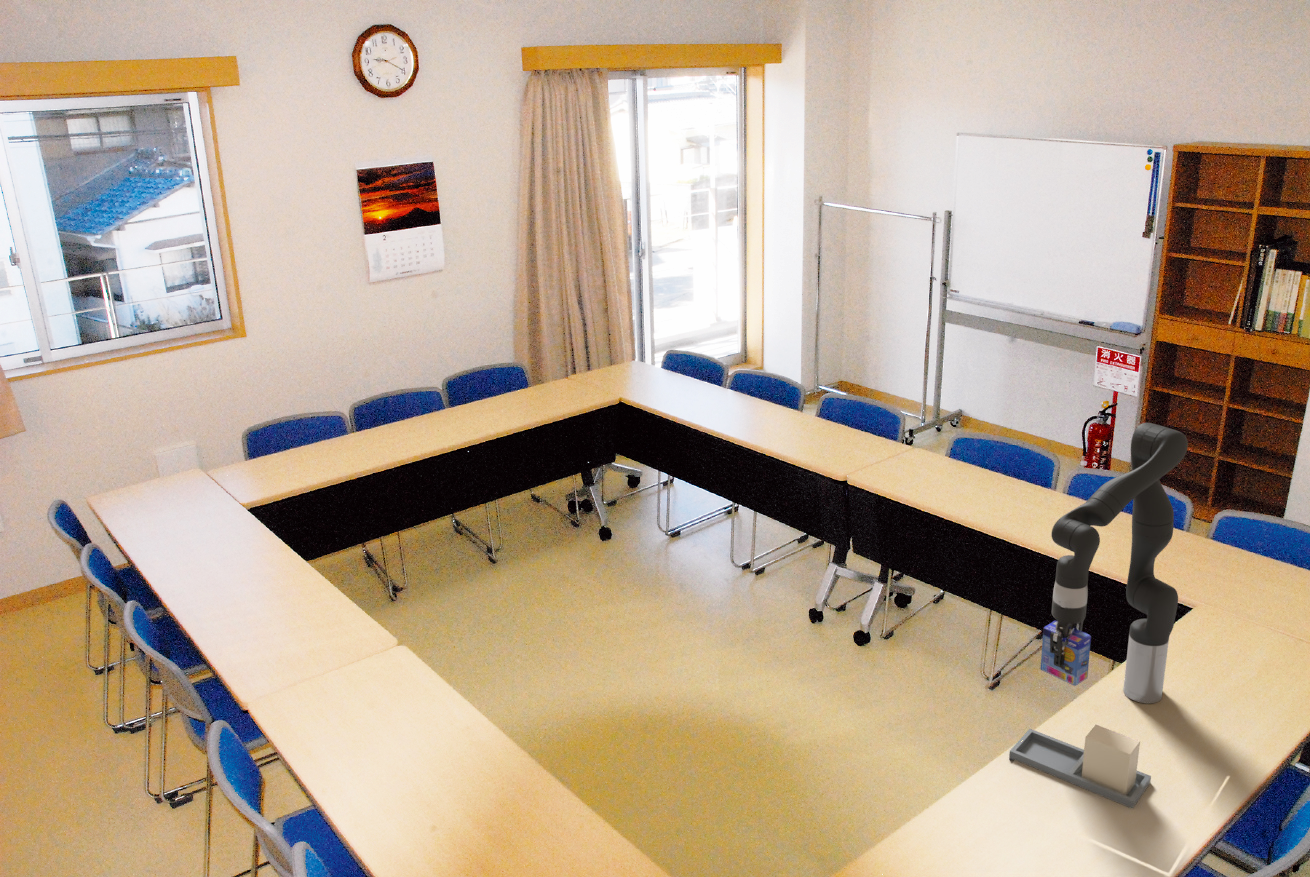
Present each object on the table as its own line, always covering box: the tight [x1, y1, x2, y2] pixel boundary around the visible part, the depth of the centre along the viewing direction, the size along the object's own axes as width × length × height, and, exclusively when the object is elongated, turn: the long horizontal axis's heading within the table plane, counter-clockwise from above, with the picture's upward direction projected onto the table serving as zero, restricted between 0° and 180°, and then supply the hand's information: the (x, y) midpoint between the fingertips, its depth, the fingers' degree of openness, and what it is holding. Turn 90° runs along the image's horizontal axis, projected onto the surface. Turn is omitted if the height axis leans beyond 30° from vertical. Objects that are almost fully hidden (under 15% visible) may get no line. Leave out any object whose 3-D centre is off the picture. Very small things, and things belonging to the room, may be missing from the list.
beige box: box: [1082, 724, 1141, 796], centre depth 240 cm, size 6×10×12 cm, turn 47°
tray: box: [1008, 728, 1152, 810], centre depth 247 cm, size 11×29×2 cm, turn 47°
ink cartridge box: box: [1039, 620, 1092, 687], centre depth 251 cm, size 10×6×14 cm, turn 37°
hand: (1064, 659), depth 252 cm, fingers closed on ink cartridge box, 5 cm apart
